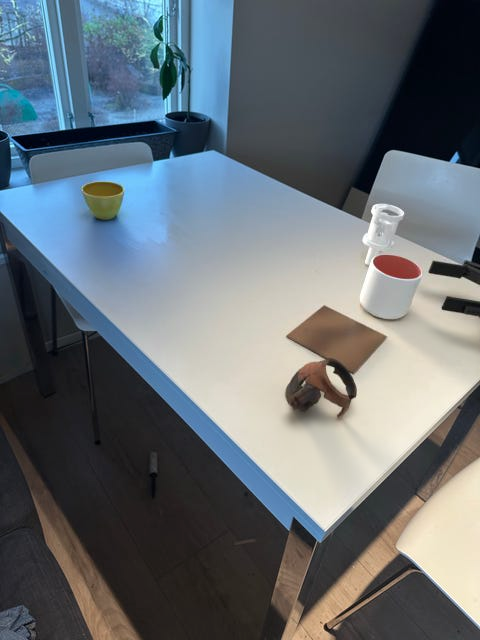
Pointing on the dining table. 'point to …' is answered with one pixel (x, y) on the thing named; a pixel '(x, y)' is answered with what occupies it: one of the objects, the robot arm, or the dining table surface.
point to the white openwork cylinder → (381, 230)
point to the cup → (390, 286)
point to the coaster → (337, 338)
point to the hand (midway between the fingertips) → (436, 283)
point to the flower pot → (103, 198)
